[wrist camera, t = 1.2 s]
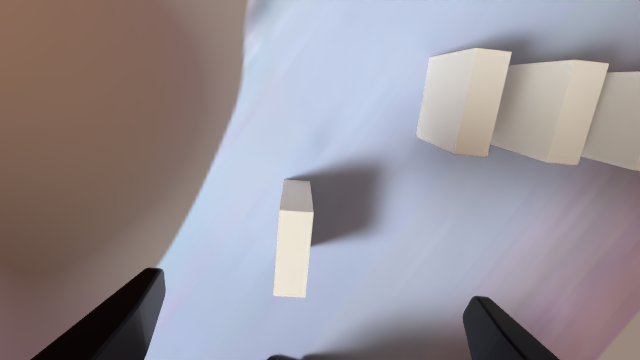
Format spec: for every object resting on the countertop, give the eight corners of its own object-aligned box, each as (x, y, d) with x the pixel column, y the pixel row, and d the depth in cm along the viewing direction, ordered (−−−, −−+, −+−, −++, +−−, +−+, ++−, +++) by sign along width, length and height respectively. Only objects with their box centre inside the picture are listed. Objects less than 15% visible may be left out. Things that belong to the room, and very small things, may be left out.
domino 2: (456, 60, 20) (511, 51, 15) (441, 138, 21) (487, 157, 16) (429, 57, 20) (475, 47, 14) (415, 136, 21) (454, 154, 16)
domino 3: (529, 68, 20) (609, 63, 15) (510, 145, 21) (578, 165, 16) (504, 65, 20) (575, 59, 15) (486, 143, 21) (546, 162, 16)
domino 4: (600, 76, 21) (701, 74, 15) (577, 151, 22) (664, 172, 17) (575, 73, 20) (669, 70, 15) (553, 149, 22) (633, 170, 16)
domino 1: (310, 181, 21) (313, 212, 16) (303, 248, 23) (305, 297, 17) (284, 179, 21) (279, 209, 16) (279, 246, 22) (273, 295, 17)
